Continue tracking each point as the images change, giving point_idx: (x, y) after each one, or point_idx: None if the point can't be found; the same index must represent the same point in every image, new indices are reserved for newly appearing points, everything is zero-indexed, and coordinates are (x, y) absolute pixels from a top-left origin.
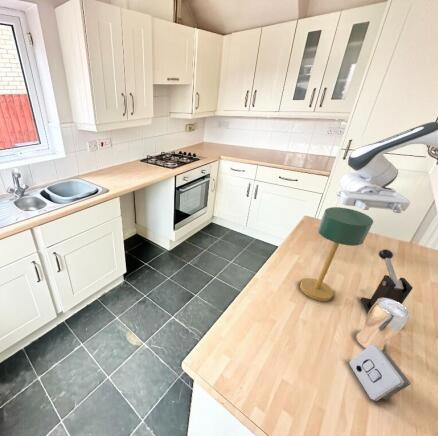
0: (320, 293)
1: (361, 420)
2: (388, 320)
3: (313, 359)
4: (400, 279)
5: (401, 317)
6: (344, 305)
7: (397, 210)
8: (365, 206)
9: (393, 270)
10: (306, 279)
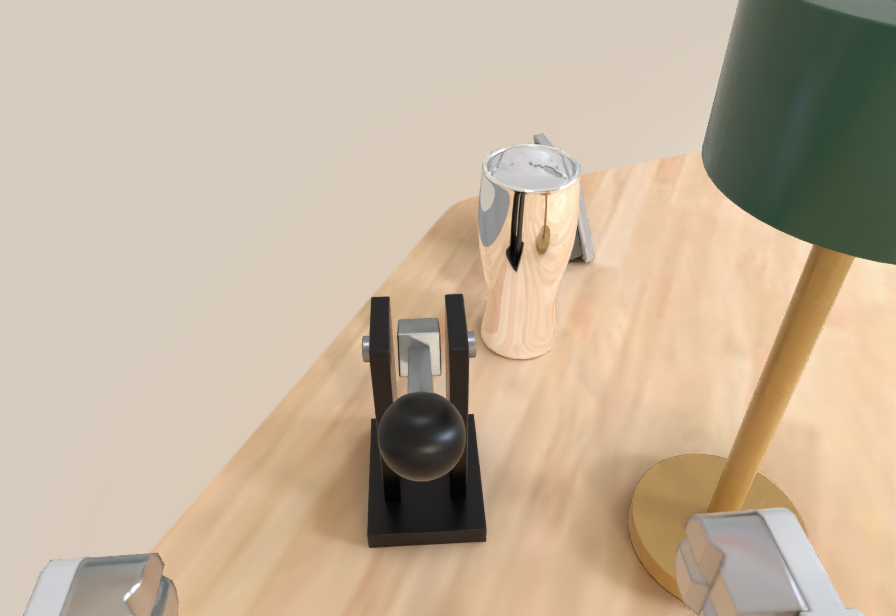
0: (695, 482)
1: (585, 184)
2: (543, 171)
3: (684, 251)
4: (389, 353)
5: (520, 144)
6: (572, 476)
7: (151, 565)
8: (771, 509)
9: (411, 369)
10: None
